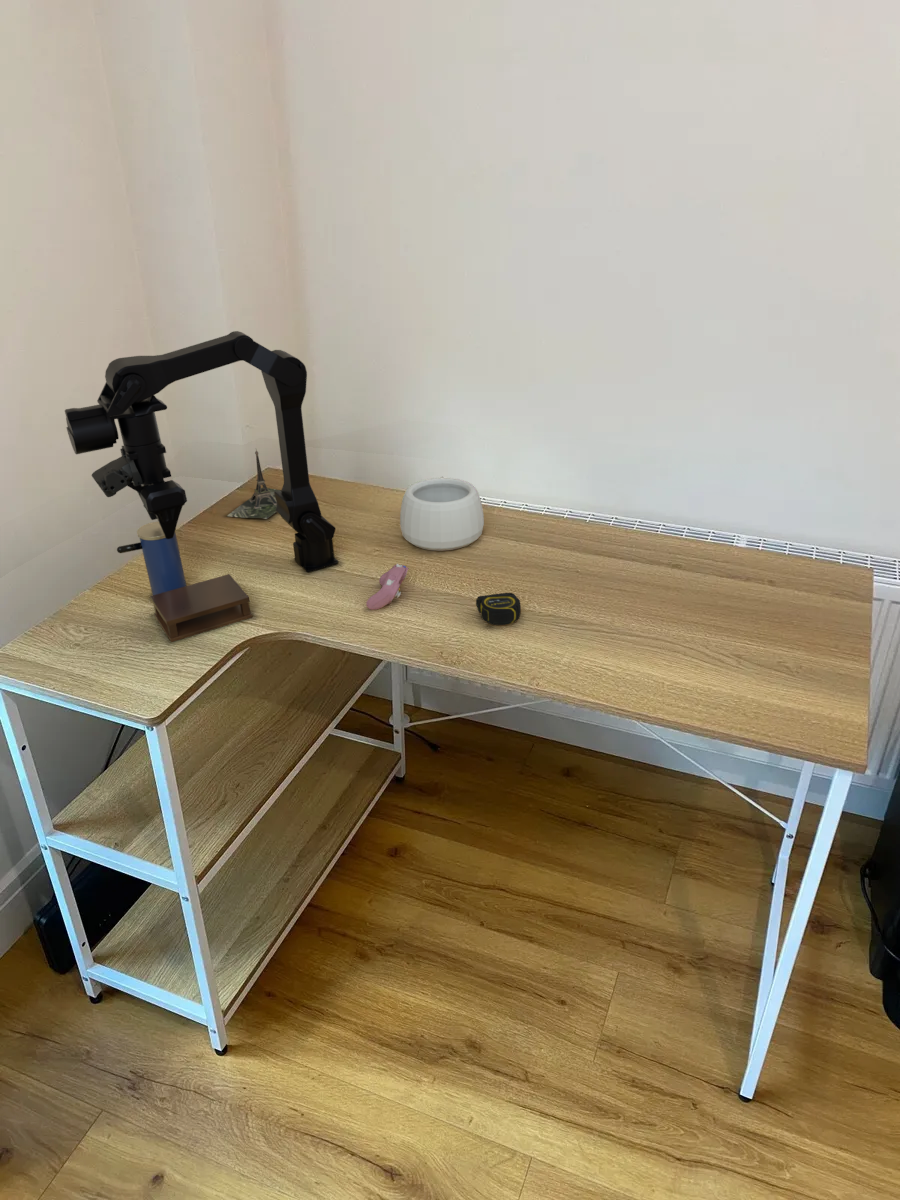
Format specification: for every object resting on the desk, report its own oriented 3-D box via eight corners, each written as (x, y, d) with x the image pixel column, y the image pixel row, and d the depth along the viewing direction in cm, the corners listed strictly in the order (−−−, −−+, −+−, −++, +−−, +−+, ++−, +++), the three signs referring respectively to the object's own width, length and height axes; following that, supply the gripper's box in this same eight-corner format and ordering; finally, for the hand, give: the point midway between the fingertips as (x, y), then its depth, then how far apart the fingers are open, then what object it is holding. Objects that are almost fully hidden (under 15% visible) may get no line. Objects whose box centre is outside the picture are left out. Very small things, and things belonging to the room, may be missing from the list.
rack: (232, 593, 154) (229, 573, 152) (252, 617, 147) (249, 597, 145) (154, 616, 148) (149, 596, 146) (171, 642, 140) (166, 621, 138)
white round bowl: (484, 554, 165) (484, 506, 160) (398, 555, 165) (395, 508, 160) (482, 508, 183) (482, 464, 178) (404, 510, 184) (402, 466, 179)
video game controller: (386, 620, 148) (402, 590, 144) (363, 608, 147) (378, 577, 144) (401, 592, 156) (416, 563, 152) (378, 580, 156) (393, 551, 152)
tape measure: (514, 607, 147) (515, 588, 146) (525, 627, 142) (525, 608, 140) (475, 611, 146) (475, 592, 145) (484, 632, 141) (484, 612, 139)
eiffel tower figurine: (267, 522, 180) (259, 461, 173) (226, 516, 183) (216, 456, 177) (302, 495, 192) (296, 437, 185) (263, 489, 195) (255, 433, 189)
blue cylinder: (185, 582, 158) (172, 518, 151) (191, 598, 153) (178, 532, 146) (127, 595, 154) (111, 530, 148) (132, 611, 149) (115, 544, 143)
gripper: (77, 435, 141) (100, 521, 148) (103, 469, 127) (127, 562, 135) (145, 421, 145) (164, 505, 153) (178, 452, 132) (196, 543, 140)
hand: (161, 528), depth 145 cm, fingers open, 9 cm apart
